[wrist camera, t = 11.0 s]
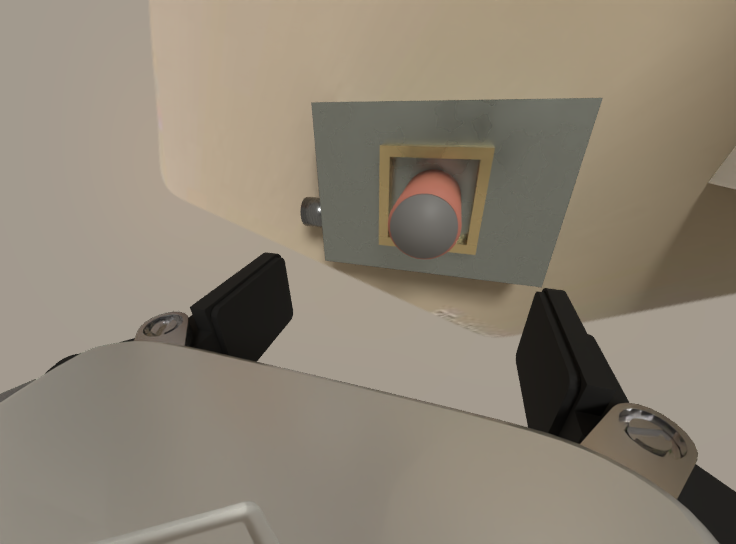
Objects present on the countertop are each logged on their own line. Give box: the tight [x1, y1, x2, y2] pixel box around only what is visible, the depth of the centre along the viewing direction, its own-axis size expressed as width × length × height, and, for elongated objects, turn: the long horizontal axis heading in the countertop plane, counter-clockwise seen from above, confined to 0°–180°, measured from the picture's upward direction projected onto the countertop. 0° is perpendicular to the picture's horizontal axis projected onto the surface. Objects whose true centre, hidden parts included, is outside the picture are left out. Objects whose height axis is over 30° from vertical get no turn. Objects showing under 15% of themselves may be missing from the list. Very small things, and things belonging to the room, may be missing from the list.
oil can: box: [388, 169, 462, 259], centre depth 21 cm, size 5×5×7 cm
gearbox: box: [301, 98, 602, 287], centre depth 27 cm, size 23×14×7 cm, turn 90°
